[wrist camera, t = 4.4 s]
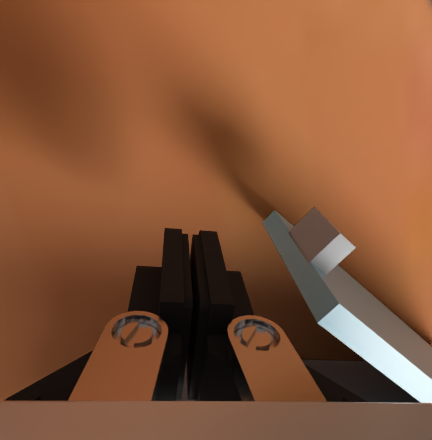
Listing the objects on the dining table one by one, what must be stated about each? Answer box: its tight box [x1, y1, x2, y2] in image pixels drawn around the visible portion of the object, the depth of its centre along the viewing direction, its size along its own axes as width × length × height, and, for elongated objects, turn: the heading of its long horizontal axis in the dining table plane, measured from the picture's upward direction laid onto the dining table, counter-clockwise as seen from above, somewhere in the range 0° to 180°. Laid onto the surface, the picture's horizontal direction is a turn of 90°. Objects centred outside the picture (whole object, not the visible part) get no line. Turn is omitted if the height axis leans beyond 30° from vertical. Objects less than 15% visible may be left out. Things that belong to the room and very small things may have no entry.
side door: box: [262, 207, 432, 403], centre depth 15 cm, size 14×2×7 cm, turn 48°
